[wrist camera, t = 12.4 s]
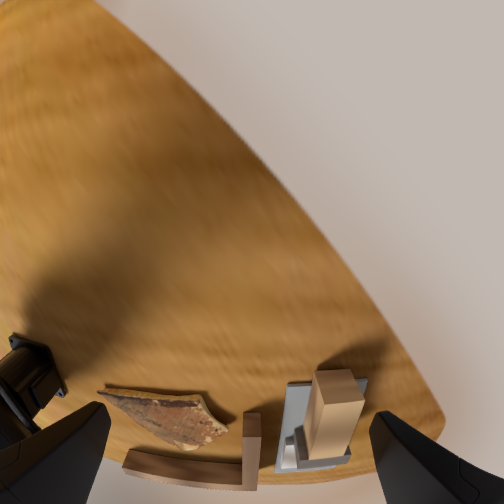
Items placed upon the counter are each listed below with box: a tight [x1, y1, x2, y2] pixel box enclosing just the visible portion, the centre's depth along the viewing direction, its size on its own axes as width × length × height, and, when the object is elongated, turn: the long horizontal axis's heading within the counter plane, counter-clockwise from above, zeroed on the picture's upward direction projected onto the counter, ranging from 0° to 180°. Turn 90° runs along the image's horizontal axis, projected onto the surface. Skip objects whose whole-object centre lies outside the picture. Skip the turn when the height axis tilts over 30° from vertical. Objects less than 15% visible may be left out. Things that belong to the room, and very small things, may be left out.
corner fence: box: [122, 413, 261, 491], centre depth 21 cm, size 14×10×3 cm
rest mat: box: [274, 378, 368, 473], centre depth 22 cm, size 7×14×1 cm, turn 179°
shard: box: [97, 388, 229, 451], centre depth 21 cm, size 11×8×2 cm
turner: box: [281, 369, 365, 469], centre depth 20 cm, size 13×6×4 cm, turn 179°
